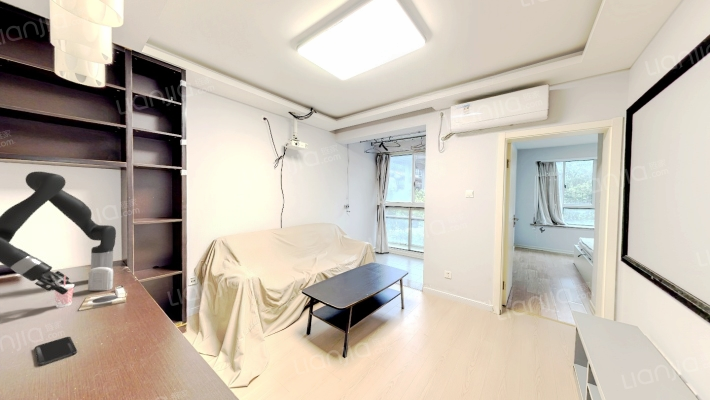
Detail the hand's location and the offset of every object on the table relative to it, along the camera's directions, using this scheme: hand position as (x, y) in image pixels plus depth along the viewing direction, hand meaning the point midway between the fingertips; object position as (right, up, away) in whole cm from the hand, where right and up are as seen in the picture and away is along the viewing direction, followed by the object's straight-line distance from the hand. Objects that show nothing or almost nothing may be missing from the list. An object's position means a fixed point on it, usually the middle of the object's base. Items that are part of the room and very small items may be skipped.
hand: (69, 290), depth 113 cm
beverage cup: (-2, -7, -1) cm, 7 cm away
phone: (+35, -9, -33) cm, 49 cm away
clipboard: (+11, -7, +6) cm, 14 cm away
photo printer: (-5, -7, +19) cm, 20 cm away
